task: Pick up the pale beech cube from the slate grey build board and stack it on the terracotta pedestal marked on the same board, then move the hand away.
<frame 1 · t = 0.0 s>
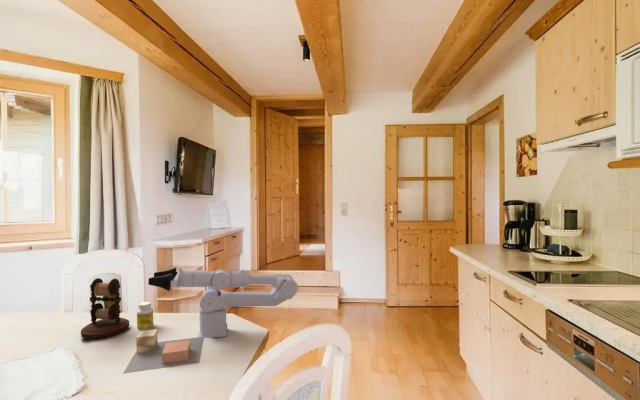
hand: (151, 278, 109), 22 cm above the table, tool horizontal, fingers open, 7 cm apart
supplement bottle: (145, 329, 120), on the table
beech cube: (147, 348, 103), point 1 cm above the table, touching build board
build board: (168, 354, 100), on the table
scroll: (105, 333, 116), on the table
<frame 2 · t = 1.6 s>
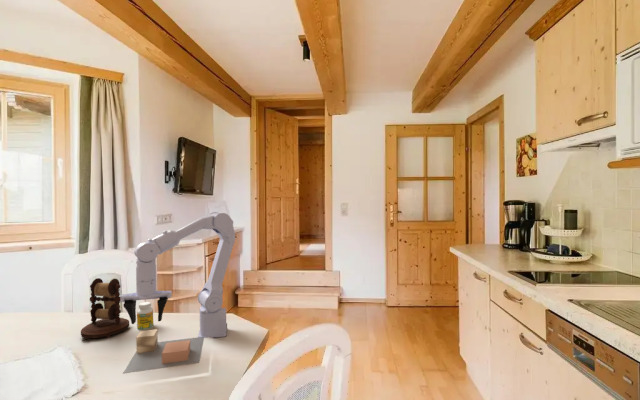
hand: (147, 321, 103), 9 cm above the table, tool pointing down, fingers open, 7 cm apart
nothing on the table moved.
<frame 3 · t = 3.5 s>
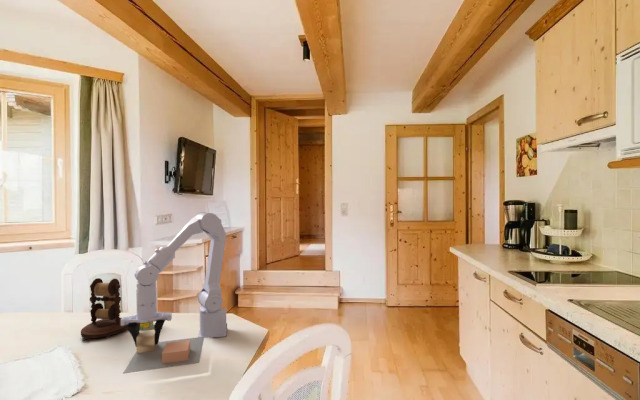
hand: (147, 344, 103), 2 cm above the table, tool pointing down, fingers closed on beech cube, 5 cm apart
beech cube: (147, 348, 103), point 1 cm above the table, touching build board, gripper
everything else where it was.
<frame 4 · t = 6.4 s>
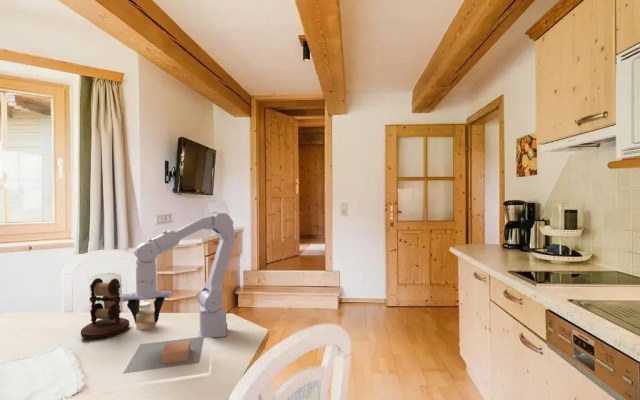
hand: (147, 321, 103), 9 cm above the table, tool pointing down, fingers closed on beech cube, 5 cm apart
beech cube: (147, 325, 103), point 8 cm above the table, touching gripper
everything else where it was.
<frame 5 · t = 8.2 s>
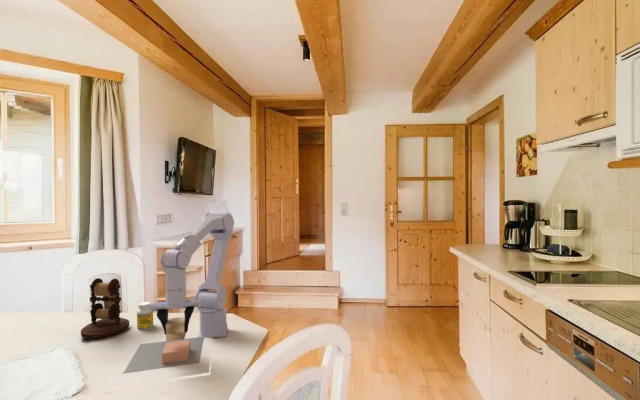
hand: (176, 332, 98), 8 cm above the table, tool pointing down, fingers closed on beech cube, 5 cm apart
beech cube: (176, 336, 98), point 7 cm above the table, touching gripper
everything else where it was.
when the fingers open (6 cm above the table, at t = 9.5 s): beech cube stays where it is, resting on build board.
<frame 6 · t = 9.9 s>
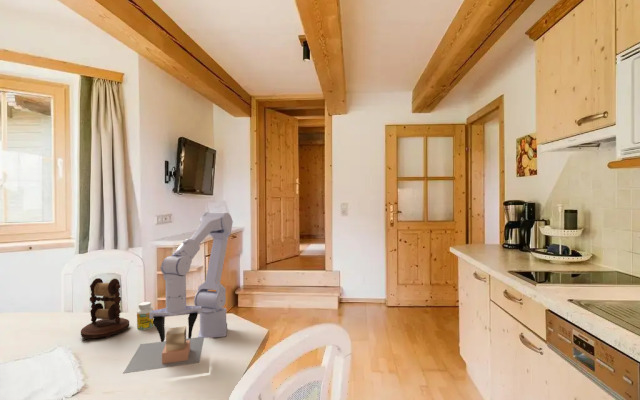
hand: (176, 338, 98), 6 cm above the table, tool pointing down, fingers open, 7 cm apart
beech cube: (176, 346, 98), point 4 cm above the table, touching build board
everything else where it was.
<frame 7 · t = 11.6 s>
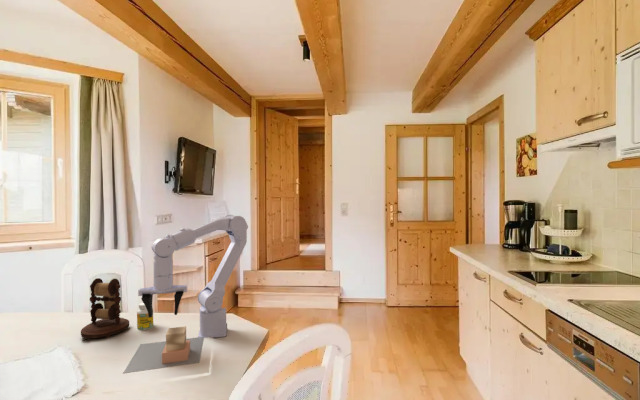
hand: (163, 315, 106), 10 cm above the table, tool pointing down, fingers open, 7 cm apart
nothing on the table moved.
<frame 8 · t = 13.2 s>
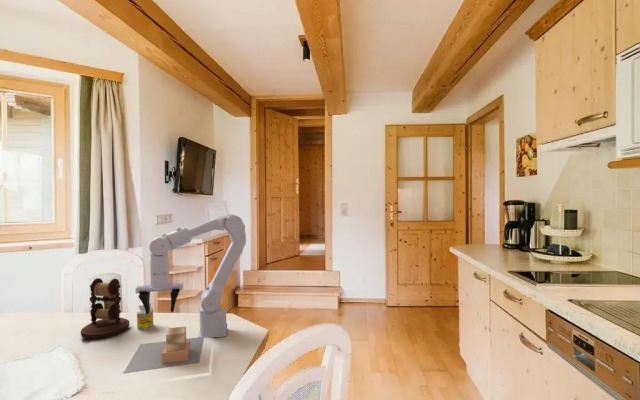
hand: (160, 312, 109), 10 cm above the table, tool pointing down, fingers open, 7 cm apart
nothing on the table moved.
at the end: beech cube 0.0 cm from the target spot on the build board, point 3.6 cm above the build board's base; beech cube tilted 0°; the gripper is holding nothing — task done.
